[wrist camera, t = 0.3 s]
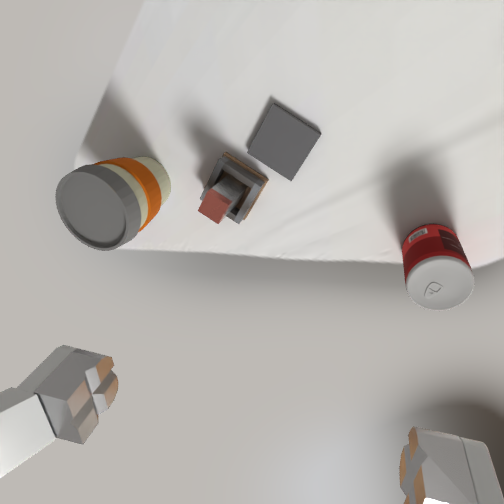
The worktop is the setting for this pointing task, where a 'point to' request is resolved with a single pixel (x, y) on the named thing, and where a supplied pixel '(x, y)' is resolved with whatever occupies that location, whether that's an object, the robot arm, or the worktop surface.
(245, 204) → the square open tray
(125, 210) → the reusable coffee cup
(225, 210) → the steel peg
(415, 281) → the canned food
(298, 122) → the rubber pad
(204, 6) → the worktop surface
